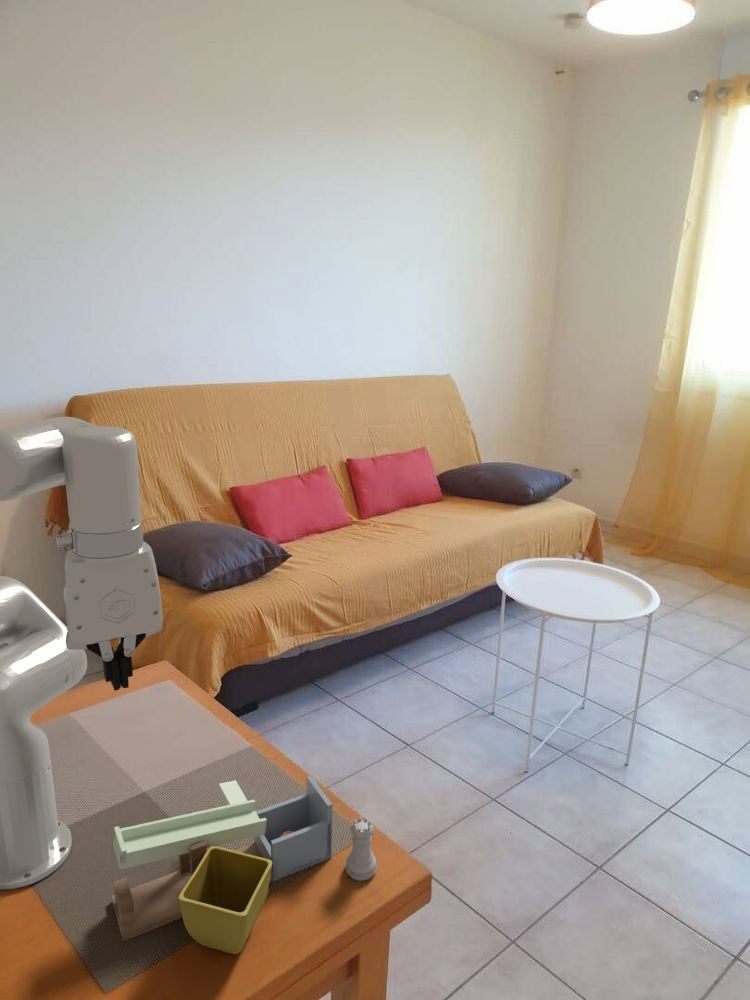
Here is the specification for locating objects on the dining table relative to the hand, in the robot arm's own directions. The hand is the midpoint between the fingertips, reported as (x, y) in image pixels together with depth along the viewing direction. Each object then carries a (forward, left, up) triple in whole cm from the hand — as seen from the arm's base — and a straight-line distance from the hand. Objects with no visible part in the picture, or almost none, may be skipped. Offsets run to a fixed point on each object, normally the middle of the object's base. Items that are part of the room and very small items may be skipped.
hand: (119, 683), depth 85 cm
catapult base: (+2, +7, -33) cm, 34 cm away
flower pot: (+10, +9, -33) cm, 36 cm away
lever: (-2, +7, -25) cm, 26 cm away
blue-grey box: (+2, +22, -33) cm, 40 cm away
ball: (+2, +21, -31) cm, 38 cm away
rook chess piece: (+9, +29, -33) cm, 45 cm away
